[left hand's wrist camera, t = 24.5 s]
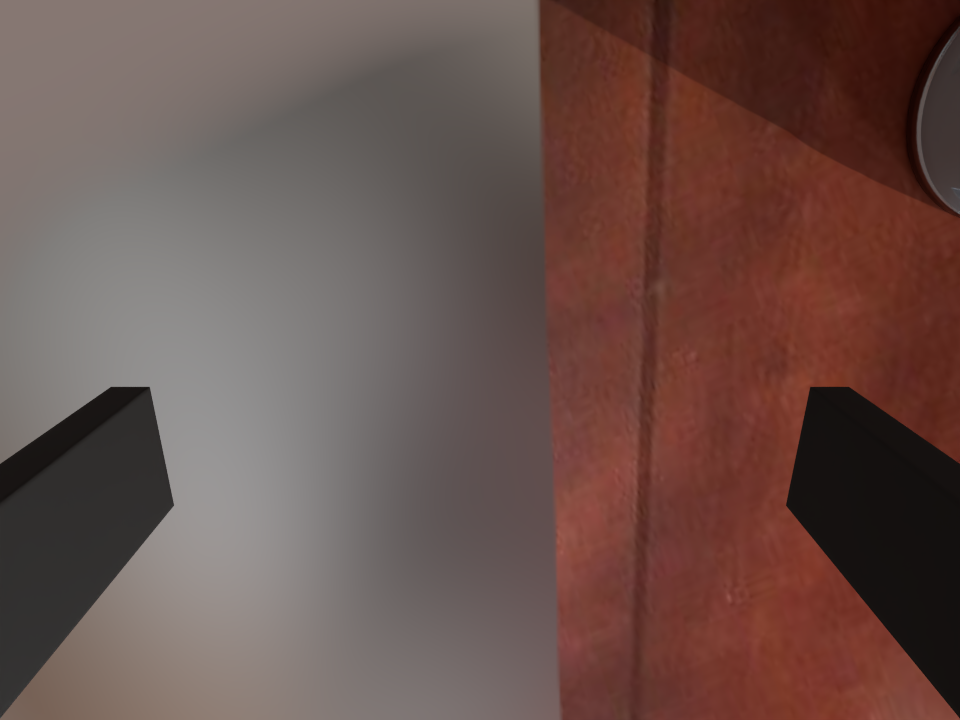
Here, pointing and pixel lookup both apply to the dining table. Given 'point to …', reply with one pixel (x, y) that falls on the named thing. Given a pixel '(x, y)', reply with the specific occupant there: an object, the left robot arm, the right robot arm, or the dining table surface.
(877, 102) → the dining table surface
